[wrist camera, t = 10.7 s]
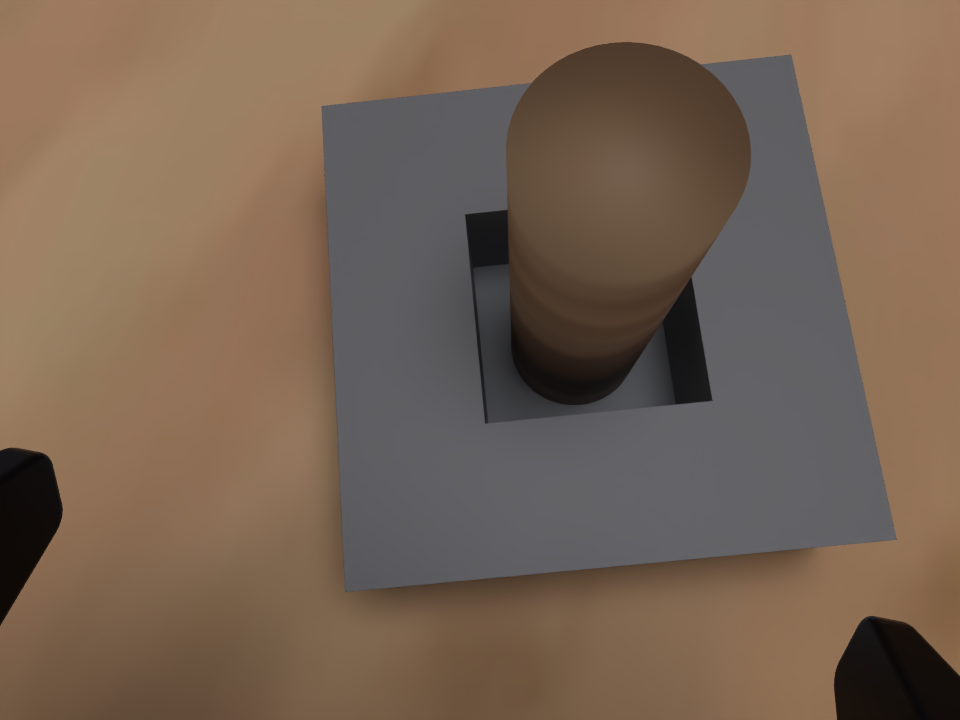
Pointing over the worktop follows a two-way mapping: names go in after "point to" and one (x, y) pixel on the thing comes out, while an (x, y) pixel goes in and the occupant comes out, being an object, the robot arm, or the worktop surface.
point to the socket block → (607, 422)
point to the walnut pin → (612, 208)
